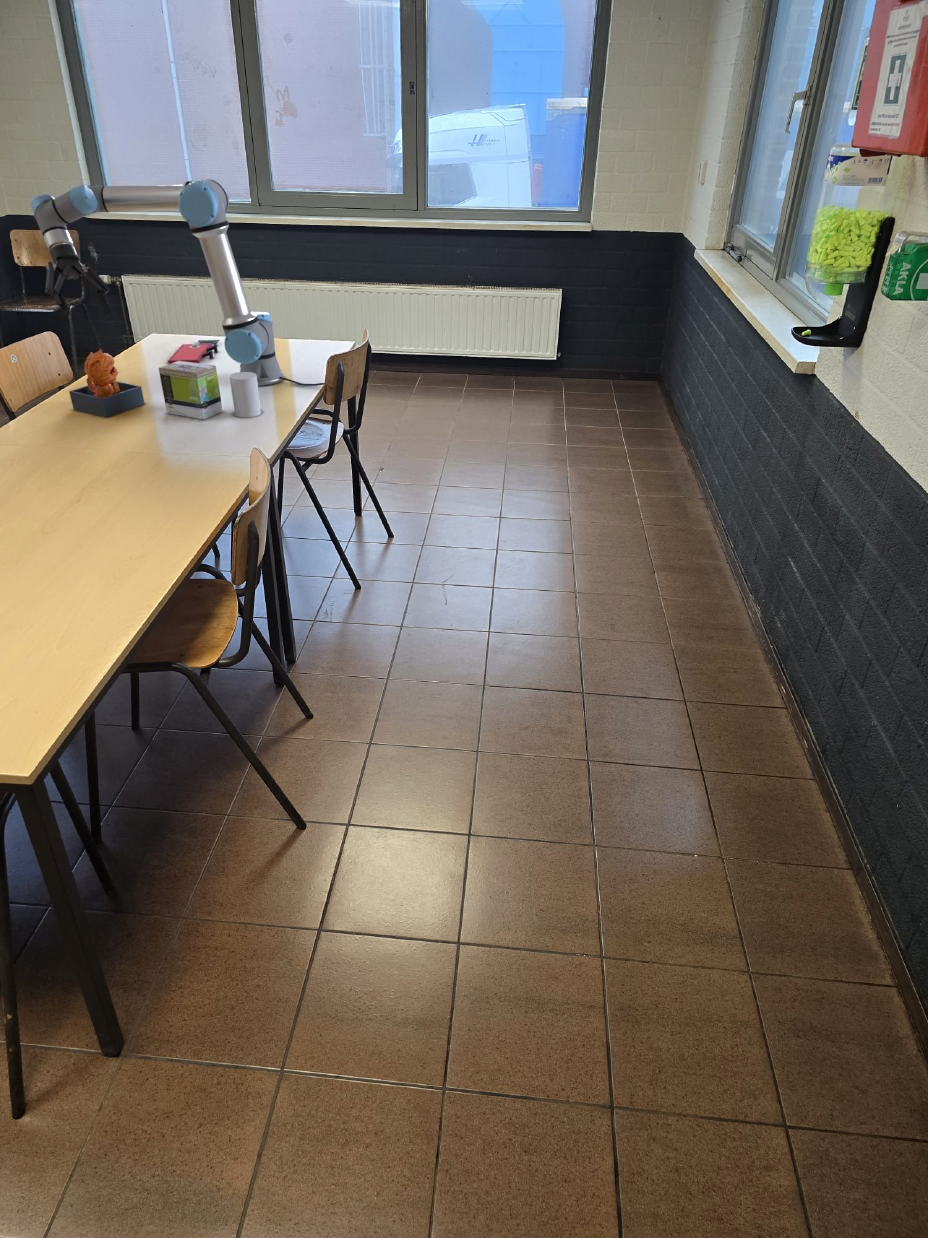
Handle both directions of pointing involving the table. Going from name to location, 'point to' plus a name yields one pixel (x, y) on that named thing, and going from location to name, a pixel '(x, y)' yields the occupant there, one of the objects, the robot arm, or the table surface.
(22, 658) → the table surface
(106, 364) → the orange monster figurine
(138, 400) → the crate
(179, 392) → the tea box
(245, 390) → the cup
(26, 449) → the table surface
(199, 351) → the red board with handle
